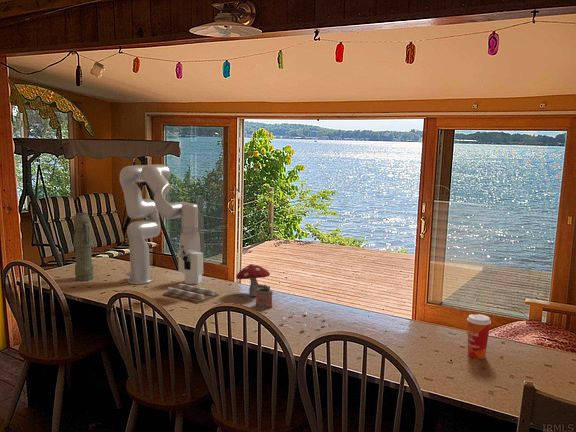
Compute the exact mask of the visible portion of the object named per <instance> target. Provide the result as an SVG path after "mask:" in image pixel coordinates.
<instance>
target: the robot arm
mask: <svg viewBox="0 0 576 432" xmlns="http://www.w3.org/2000/svg"><path fill="white" fill-rule="evenodd" d="M170 177H171V170H170V168H169V167H168V166H167V165H165V164H161V163H160V164H158V163H157V164H141V165H139V164H136V165H127V166H125V167H123V168H122V169H121V170H120V171H119V184H120V186H121V189H122V191H123V194H124V195H123V196H124V202H125V208H126V213H127V216H128V217H129V218H130V219H133V220H134V219H135V220H137V219H144V218H145V220H137V221H133V222H131V223H130V224H128V225H127V229H126V233H127V237H128V243H129V244H128V245H129V261H130V262H129V264H130V269H129V270H130V271H128V272H127V273H126V275H127V276H128V277H129V278H128V279H127V283H128V284H131V285H146V284H150V283H152V282H154V279H153V277H151V276H150V275H151V271H150V269H151V268H150V267H151V266H150V247H149V244H148V243H147V241H146V240H147V239H151V238H156V237H158V236H159V235H160V234H161V230H162V229H161V226H162V225H161V220H160V215H161V217H163V218H164V219H167V220H173V219H181V233H180V236H179V243H178V244H179V245H178V247H179V248H178V251H179V253H180V254H179V257H181V258H182V259H183V261H184V269H187V270H190V261H189V257H190V254H191V253H194V252H201V253H202V249H201V238H200V232H199V229H200V228H199V207H198V204H196V203H189V202H187V201H174V202H168V201H167V200H166V198H165V197H164V196H166V195H167V194H169V192H170V190H171V187H172V186H171V184H170V182H169V181H168V180H169V179H170ZM136 183H146V184H147V185H148V187H149V188H150V190H152V191H151V192H152V193H154V196H153V199H150V198H144V199H143V195H142V191H141V190H142V189H141V188H140V187H139V186H138V184H136ZM186 256H187V258H186Z"/></svg>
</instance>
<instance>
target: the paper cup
mask: <svg viewBox="0 0 576 432" xmlns="http://www.w3.org/2000/svg"><path fill="white" fill-rule="evenodd" d="M466 321H467V356H468V357H470V358H472V359H473V360H474V359H475V360H483V359H485V358H486V354H487V348H488V340H489V332H490V326H491V325H490V324H491V323H492V322H491V319H490V317H489V316H488V315H485V314H481V313H478V314H477V313H474V314H472V313H471V314H469V315H468V317H467V318H466Z"/></svg>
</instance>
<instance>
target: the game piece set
mask: <svg viewBox="0 0 576 432" xmlns="http://www.w3.org/2000/svg"><path fill="white" fill-rule="evenodd" d="M295 313H296V312H295V311H290V317H293V318H294V317H295ZM307 315H308V312H307V310H306V309H304V311H303V316H307ZM315 318H320V314H319V312H316V313H315ZM327 319H328V318H327V316H326V313H325V312H323V320H324V322H323V324H322V326H323V327H328V325H329V323H327ZM286 320H287V318H286V317H285V316H283V317H281V321H280V322H281V325H285V321H286ZM317 323H319V320H317ZM287 327H289V328H288V330H289V329H290V330H293V329H294V328H293V327H292V326H289V325H288V324H287ZM301 328H302V331H303V332H305V331H306V330H307V324H305V323H303V324H302V325H301ZM316 330H318V331H319V330H320V331H321V327H320V326H319V325H317V327H316Z"/></svg>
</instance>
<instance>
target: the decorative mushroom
mask: <svg viewBox="0 0 576 432" xmlns="http://www.w3.org/2000/svg"><path fill="white" fill-rule="evenodd" d="M269 276H271V274H270V272H269V271H268V269H266V268H264V267H263V266H260V265H257V264H254V263H251V264H248V265H246V266H245V267H243V268H242V269H241V270H240V271H239V272H237V274H236V276H235V278H236V279H237V280H249V279H250V284H249V288H248V289H249V291H248V292H249V293H248V295H249V296H251V297H256V289H260V288H259V287H257V285H258V284H259V282H258V281H257V279H259V278H267V277H269Z"/></svg>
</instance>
